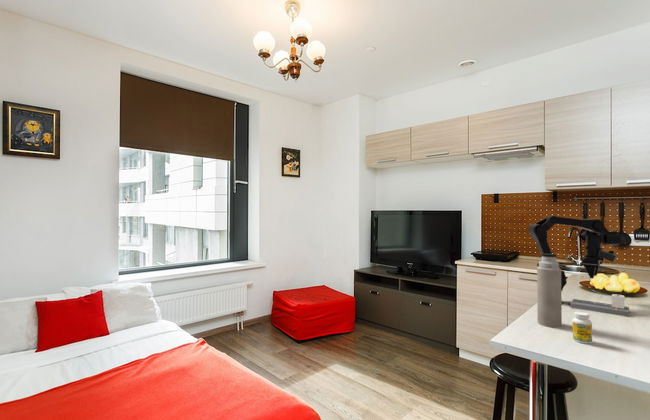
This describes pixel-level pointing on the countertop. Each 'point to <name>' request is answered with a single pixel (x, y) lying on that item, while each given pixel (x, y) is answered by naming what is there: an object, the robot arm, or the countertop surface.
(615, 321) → the countertop surface
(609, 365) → the countertop surface
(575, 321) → the supplement bottle
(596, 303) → the console board
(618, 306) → the fader cap
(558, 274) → the thermos bottle
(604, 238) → the robot arm
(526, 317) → the countertop surface
